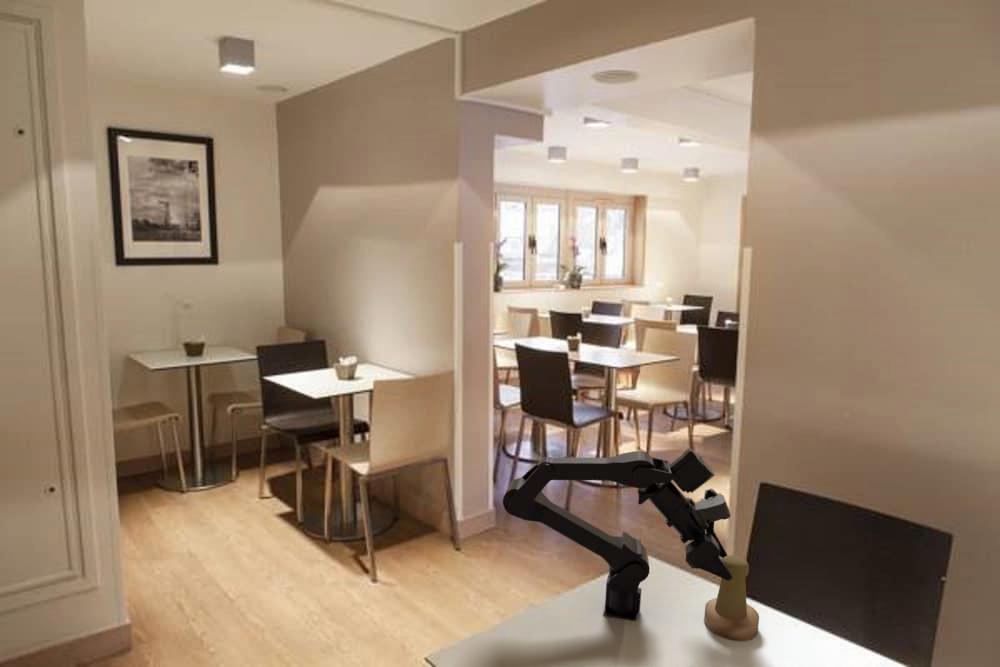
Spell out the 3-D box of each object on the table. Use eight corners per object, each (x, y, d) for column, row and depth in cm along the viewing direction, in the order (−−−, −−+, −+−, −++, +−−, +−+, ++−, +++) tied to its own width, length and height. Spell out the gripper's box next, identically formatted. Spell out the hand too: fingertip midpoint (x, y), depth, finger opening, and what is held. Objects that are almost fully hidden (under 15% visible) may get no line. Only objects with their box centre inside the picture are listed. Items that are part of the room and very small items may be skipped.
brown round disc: (704, 634, 125) (705, 620, 125) (703, 607, 135) (704, 594, 135) (760, 645, 123) (761, 630, 122) (755, 616, 132) (756, 603, 132)
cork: (749, 622, 125) (754, 568, 123) (716, 617, 126) (721, 564, 125) (744, 605, 131) (749, 553, 129) (712, 600, 132) (717, 549, 130)
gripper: (710, 500, 117) (769, 567, 116) (703, 466, 135) (754, 524, 134) (661, 535, 120) (719, 601, 119) (661, 497, 138) (711, 554, 137)
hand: (727, 567), depth 127 cm, fingers open, 9 cm apart
